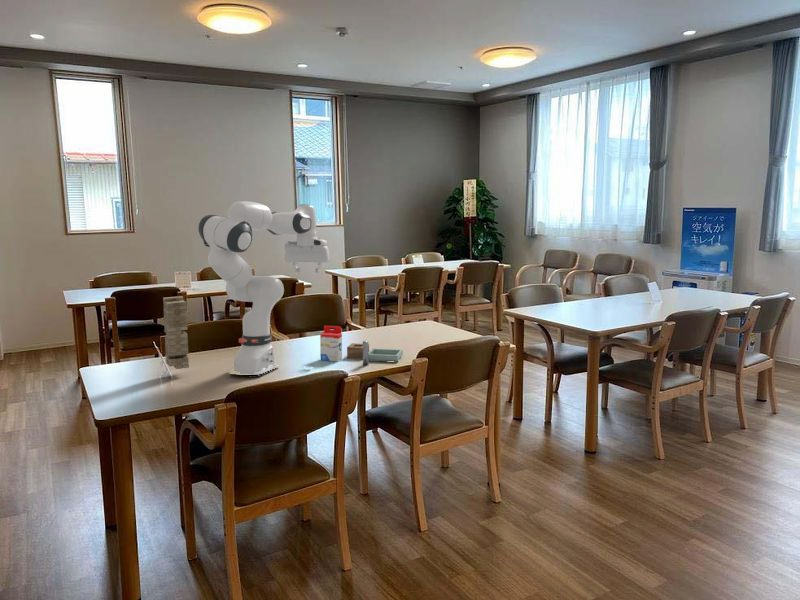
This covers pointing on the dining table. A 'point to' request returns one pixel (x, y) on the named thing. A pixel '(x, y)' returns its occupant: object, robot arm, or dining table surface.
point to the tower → (176, 332)
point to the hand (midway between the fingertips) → (307, 272)
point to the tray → (385, 354)
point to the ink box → (331, 344)
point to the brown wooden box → (355, 351)
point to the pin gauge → (365, 353)
